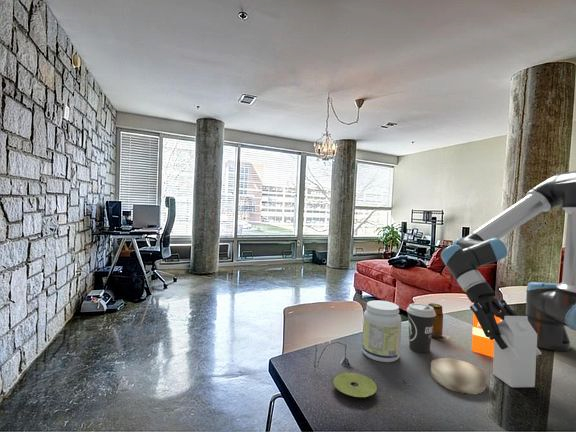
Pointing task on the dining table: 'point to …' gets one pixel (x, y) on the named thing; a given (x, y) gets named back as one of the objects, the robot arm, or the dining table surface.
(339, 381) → the green disc
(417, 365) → the dining table surface
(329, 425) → the dining table surface
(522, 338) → the milk carton
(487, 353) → the orange juice
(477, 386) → the birch stand
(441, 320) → the condiment
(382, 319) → the supplement tub
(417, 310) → the coffee cup
